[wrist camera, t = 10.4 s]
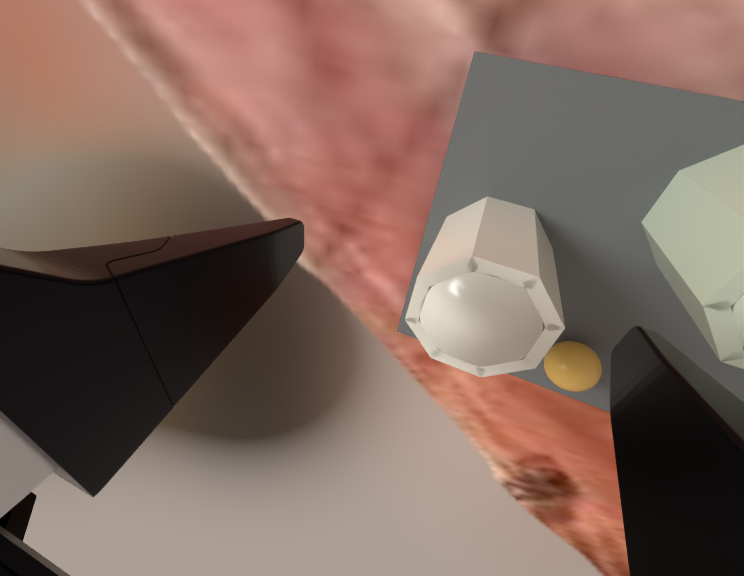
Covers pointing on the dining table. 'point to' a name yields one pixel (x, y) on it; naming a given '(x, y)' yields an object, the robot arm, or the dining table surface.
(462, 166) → the mat
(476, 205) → the cream cup
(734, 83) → the dining table surface
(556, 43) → the dining table surface
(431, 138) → the dining table surface
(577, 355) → the amber marble
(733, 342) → the sage cup
